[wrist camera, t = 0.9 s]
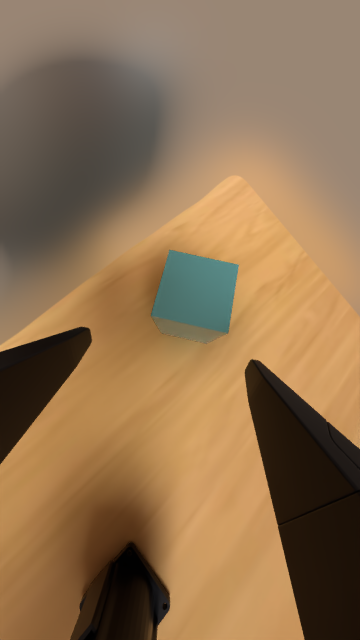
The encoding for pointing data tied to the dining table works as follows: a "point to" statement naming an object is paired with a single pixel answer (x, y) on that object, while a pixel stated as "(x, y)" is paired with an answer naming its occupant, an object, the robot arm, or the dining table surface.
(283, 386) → the robot arm
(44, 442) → the dining table surface
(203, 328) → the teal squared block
